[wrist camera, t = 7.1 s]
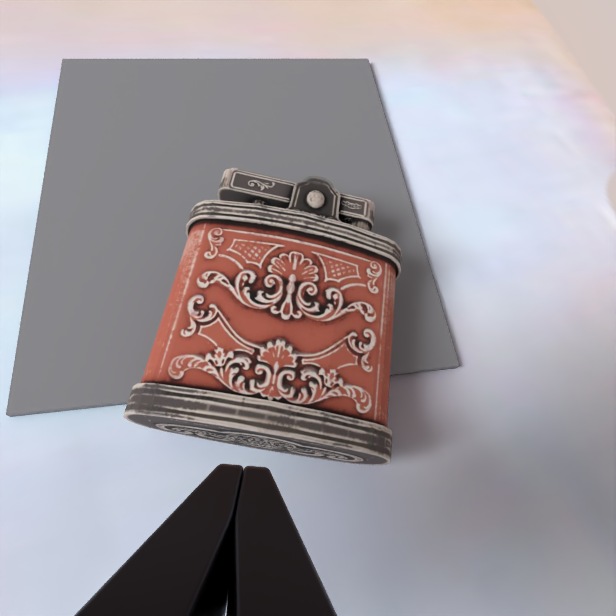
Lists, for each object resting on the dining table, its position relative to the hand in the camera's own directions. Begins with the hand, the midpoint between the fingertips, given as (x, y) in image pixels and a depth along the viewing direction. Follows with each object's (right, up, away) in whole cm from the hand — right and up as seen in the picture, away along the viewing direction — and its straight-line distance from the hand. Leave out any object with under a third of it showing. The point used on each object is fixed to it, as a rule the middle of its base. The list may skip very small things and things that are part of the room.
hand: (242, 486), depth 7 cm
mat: (-2, +8, +12) cm, 15 cm away
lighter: (0, -1, +6) cm, 6 cm away
